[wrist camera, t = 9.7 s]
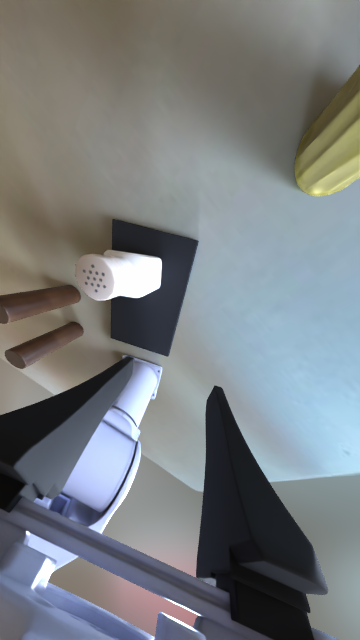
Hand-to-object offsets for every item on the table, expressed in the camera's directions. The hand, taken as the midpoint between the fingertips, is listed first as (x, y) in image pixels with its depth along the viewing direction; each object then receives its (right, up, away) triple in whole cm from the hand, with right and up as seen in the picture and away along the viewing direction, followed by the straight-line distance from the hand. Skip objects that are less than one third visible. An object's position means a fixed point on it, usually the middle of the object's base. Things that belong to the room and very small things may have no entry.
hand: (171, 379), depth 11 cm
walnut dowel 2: (-19, +3, +14) cm, 24 cm away
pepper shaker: (-4, +12, +7) cm, 14 cm away
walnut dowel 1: (-17, +9, +11) cm, 23 cm away
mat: (-4, +8, +9) cm, 13 cm away
